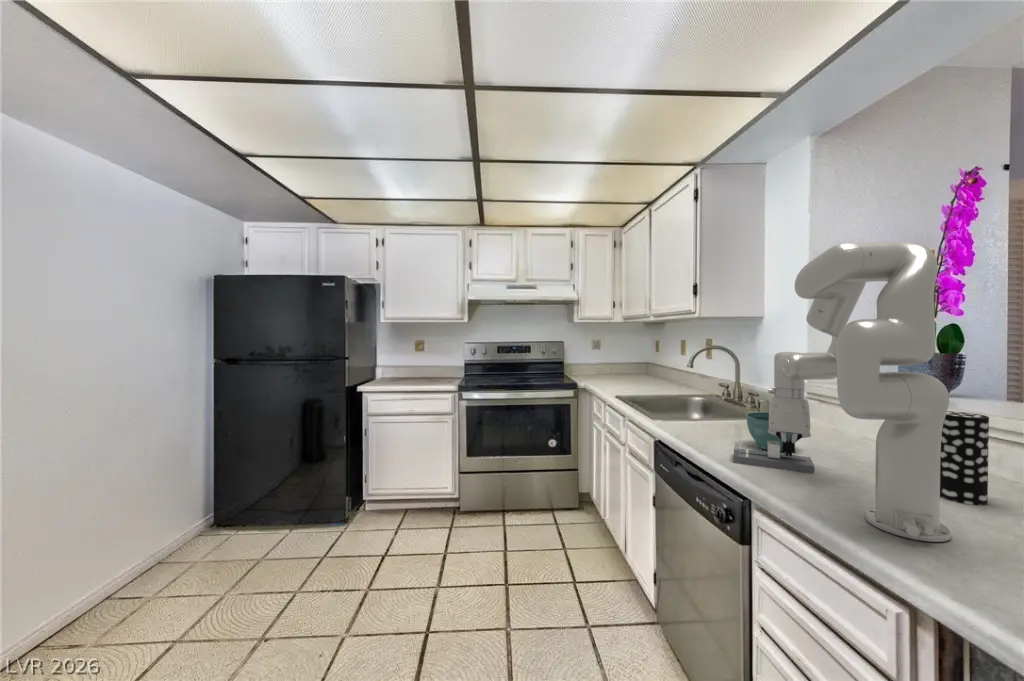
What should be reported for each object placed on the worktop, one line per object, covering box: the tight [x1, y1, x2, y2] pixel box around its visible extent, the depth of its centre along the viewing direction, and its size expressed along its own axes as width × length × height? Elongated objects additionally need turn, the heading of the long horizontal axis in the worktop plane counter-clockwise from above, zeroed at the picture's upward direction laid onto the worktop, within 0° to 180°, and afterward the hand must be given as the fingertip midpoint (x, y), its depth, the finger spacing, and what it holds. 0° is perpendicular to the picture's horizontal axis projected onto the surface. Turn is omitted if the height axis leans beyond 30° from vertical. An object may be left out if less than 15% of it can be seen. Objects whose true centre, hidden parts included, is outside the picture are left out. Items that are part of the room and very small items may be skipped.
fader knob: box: [766, 440, 781, 459], centre depth 125 cm, size 5×3×4 cm, turn 150°
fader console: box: [733, 442, 815, 474], centre depth 126 cm, size 10×20×4 cm, turn 60°
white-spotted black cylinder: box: [940, 410, 990, 506], centre depth 99 cm, size 8×8×20 cm
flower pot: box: [745, 411, 792, 453], centre depth 141 cm, size 16×16×11 cm
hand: (788, 454), depth 124 cm, fingers closed
